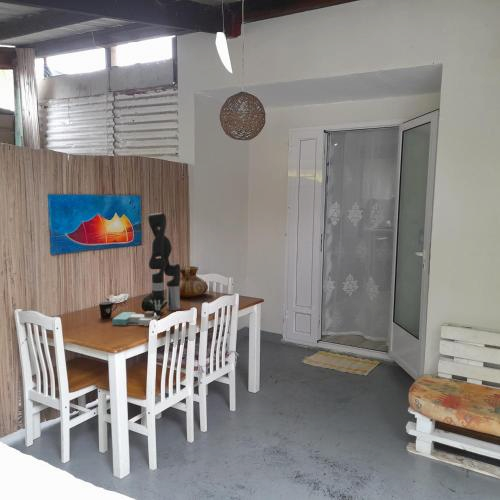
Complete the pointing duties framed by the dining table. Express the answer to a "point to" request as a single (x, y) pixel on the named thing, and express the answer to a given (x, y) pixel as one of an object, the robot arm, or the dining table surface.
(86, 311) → the dining table surface
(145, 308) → the squash
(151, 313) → the walnut block
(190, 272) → the jug
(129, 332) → the dining table surface
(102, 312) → the coffee mug
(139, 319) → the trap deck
